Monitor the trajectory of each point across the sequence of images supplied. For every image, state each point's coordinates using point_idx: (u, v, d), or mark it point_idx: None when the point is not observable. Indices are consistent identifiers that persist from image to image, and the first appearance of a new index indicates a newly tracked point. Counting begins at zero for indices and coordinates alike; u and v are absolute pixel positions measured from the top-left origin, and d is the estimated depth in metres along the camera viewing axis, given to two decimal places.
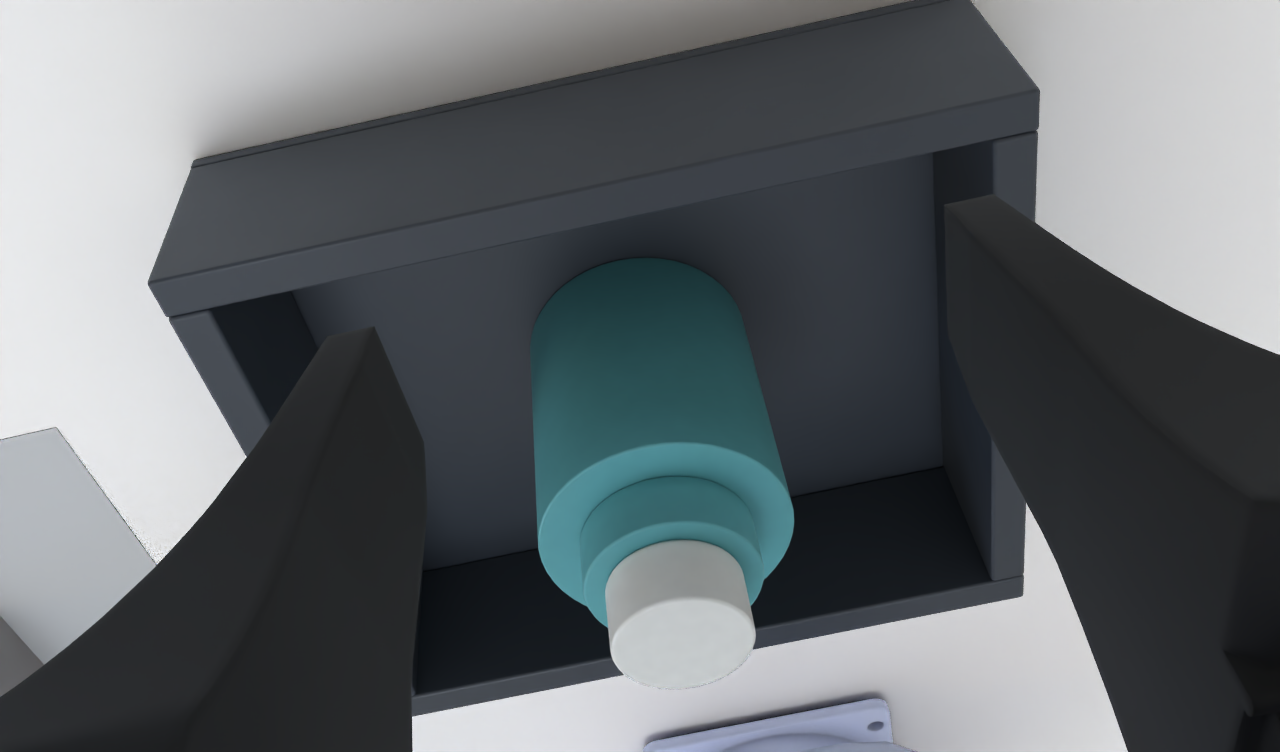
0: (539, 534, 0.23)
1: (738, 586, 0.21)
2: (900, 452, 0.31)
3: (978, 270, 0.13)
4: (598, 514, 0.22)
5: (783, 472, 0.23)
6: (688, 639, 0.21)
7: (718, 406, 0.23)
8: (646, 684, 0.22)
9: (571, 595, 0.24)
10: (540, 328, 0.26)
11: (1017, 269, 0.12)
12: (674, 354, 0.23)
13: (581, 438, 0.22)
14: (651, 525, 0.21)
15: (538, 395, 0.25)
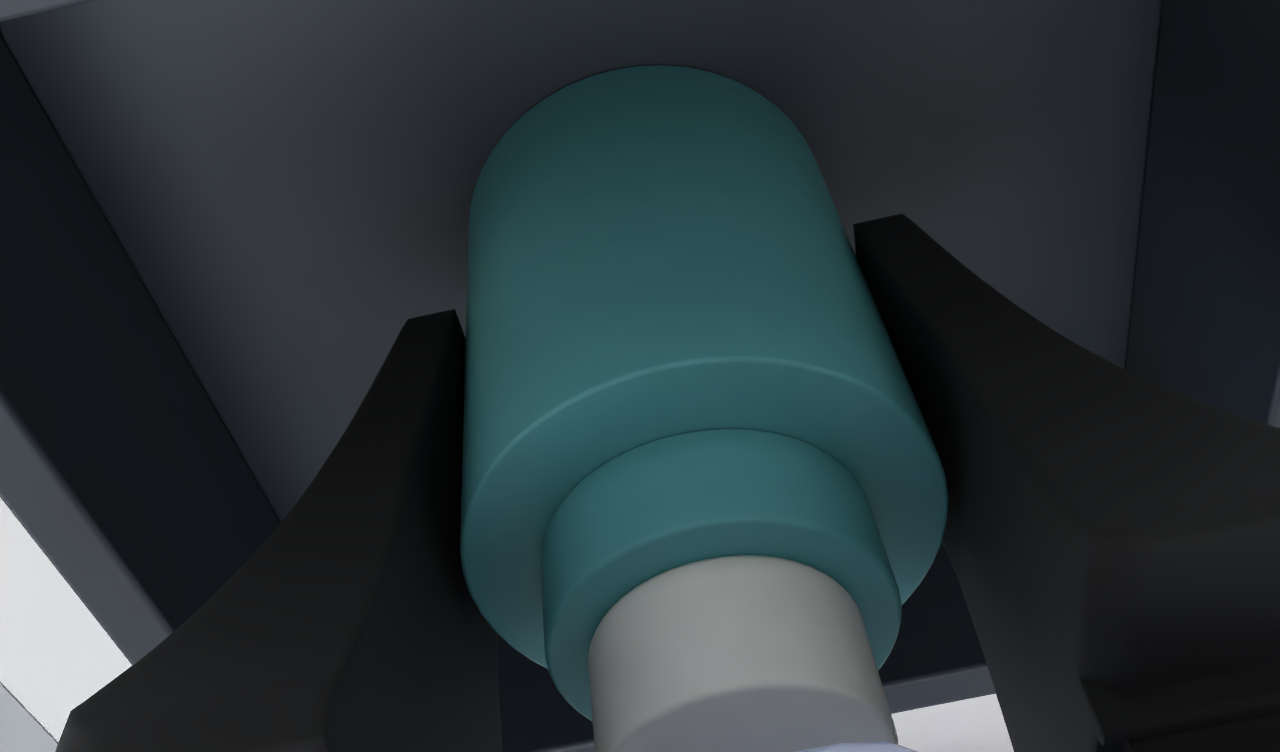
0: (462, 543, 0.12)
1: (862, 652, 0.10)
2: None
3: (881, 289, 0.13)
4: (575, 504, 0.11)
5: None
6: None
7: (808, 295, 0.12)
8: None
9: (530, 654, 0.13)
10: (482, 189, 0.15)
11: (912, 291, 0.12)
12: (720, 205, 0.13)
13: (543, 356, 0.11)
14: (682, 526, 0.10)
15: (473, 294, 0.14)
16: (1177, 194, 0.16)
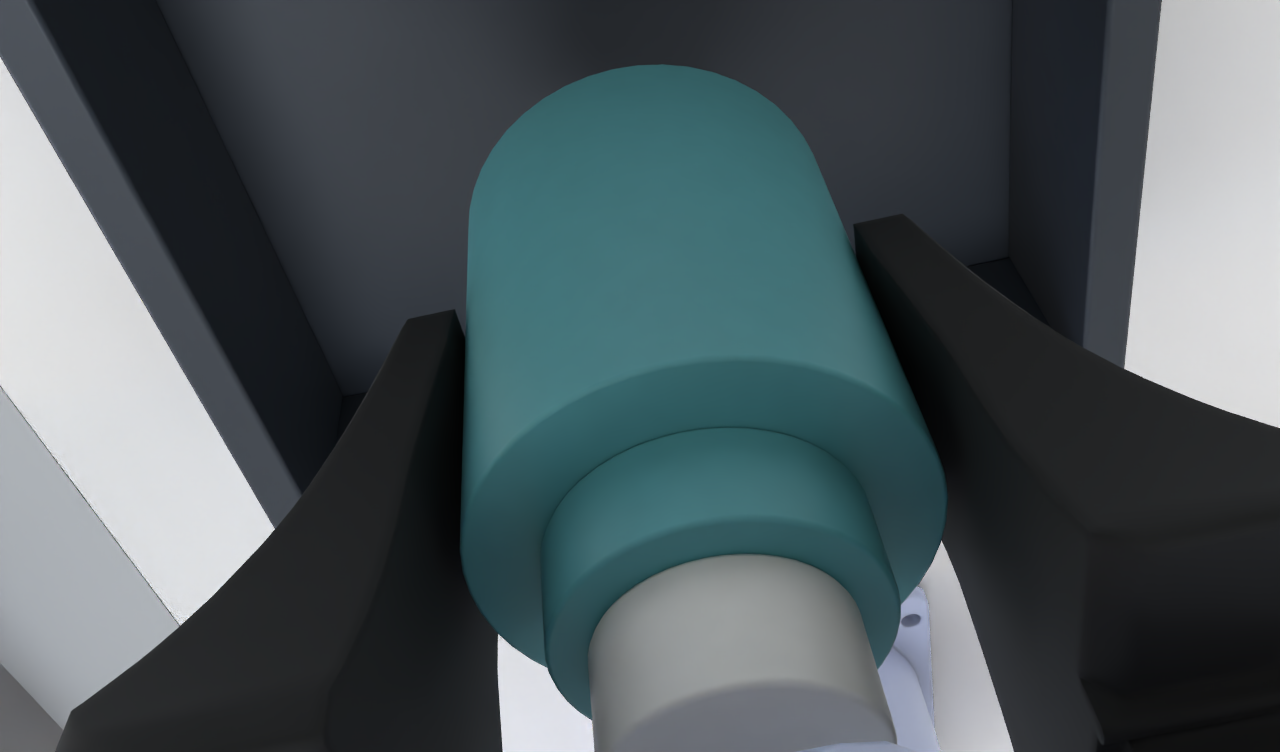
0: (462, 542, 0.12)
1: (862, 650, 0.10)
2: (954, 235, 0.24)
3: (881, 289, 0.13)
4: (574, 502, 0.11)
5: None
6: None
7: (808, 294, 0.12)
8: None
9: (530, 653, 0.13)
10: (482, 188, 0.15)
11: (912, 291, 0.12)
12: (719, 204, 0.13)
13: (542, 355, 0.11)
14: (682, 524, 0.10)
15: (473, 293, 0.14)
16: (1031, 29, 0.20)
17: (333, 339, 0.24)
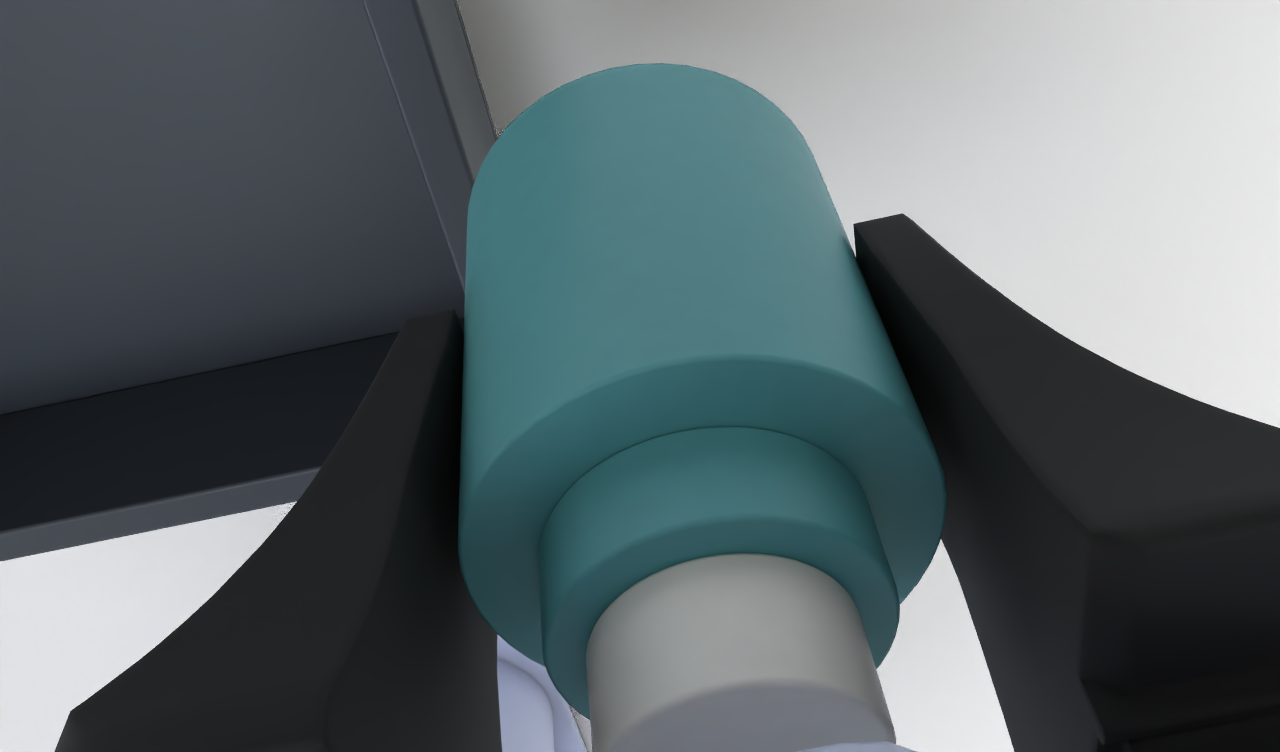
0: (460, 541, 0.12)
1: (861, 649, 0.10)
2: (451, 289, 0.26)
3: (880, 289, 0.13)
4: (572, 502, 0.11)
5: None
6: None
7: (806, 293, 0.12)
8: None
9: (528, 653, 0.13)
10: (480, 187, 0.15)
11: (913, 291, 0.12)
12: (717, 204, 0.13)
13: (540, 354, 0.11)
14: (680, 523, 0.10)
15: (471, 293, 0.14)
16: None
17: None
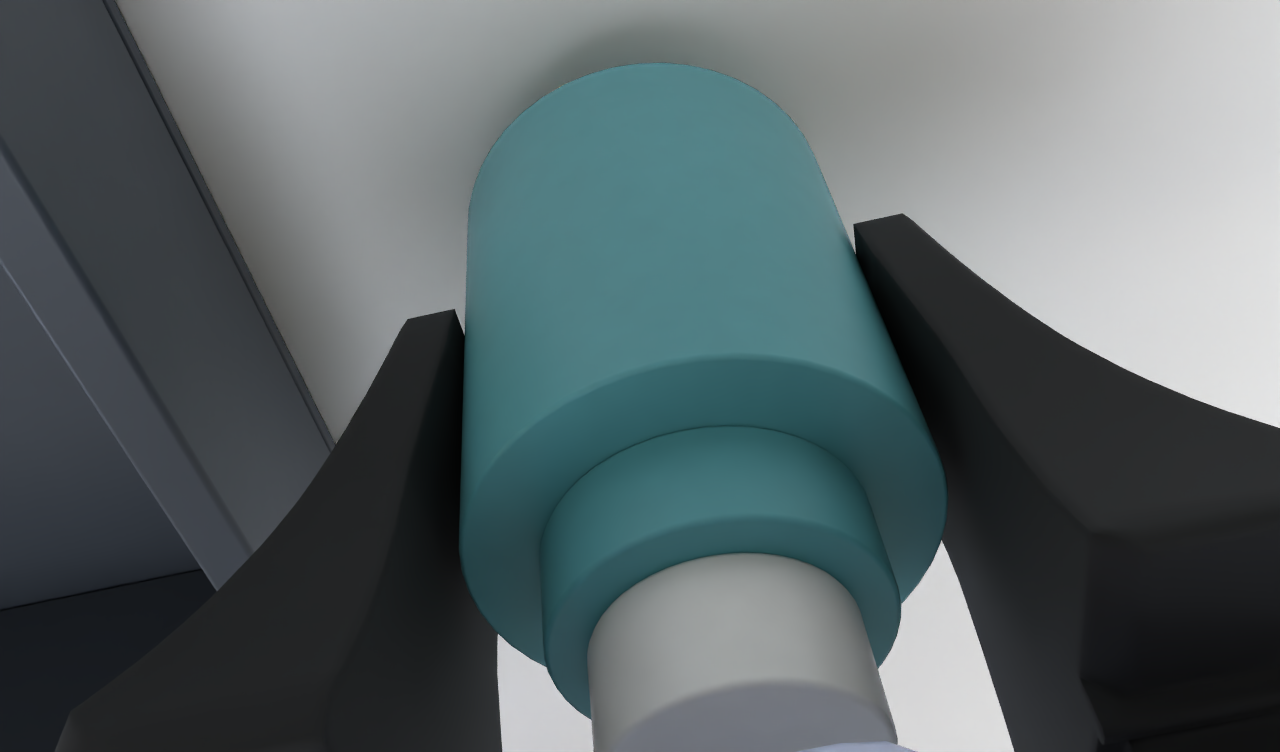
0: (461, 541, 0.12)
1: (862, 649, 0.10)
2: None
3: (881, 290, 0.13)
4: (574, 501, 0.11)
5: None
6: None
7: (809, 293, 0.12)
8: None
9: (529, 653, 0.13)
10: (481, 186, 0.15)
11: (913, 291, 0.12)
12: (719, 203, 0.13)
13: (542, 354, 0.11)
14: (681, 523, 0.10)
15: (472, 292, 0.14)
16: None
17: None
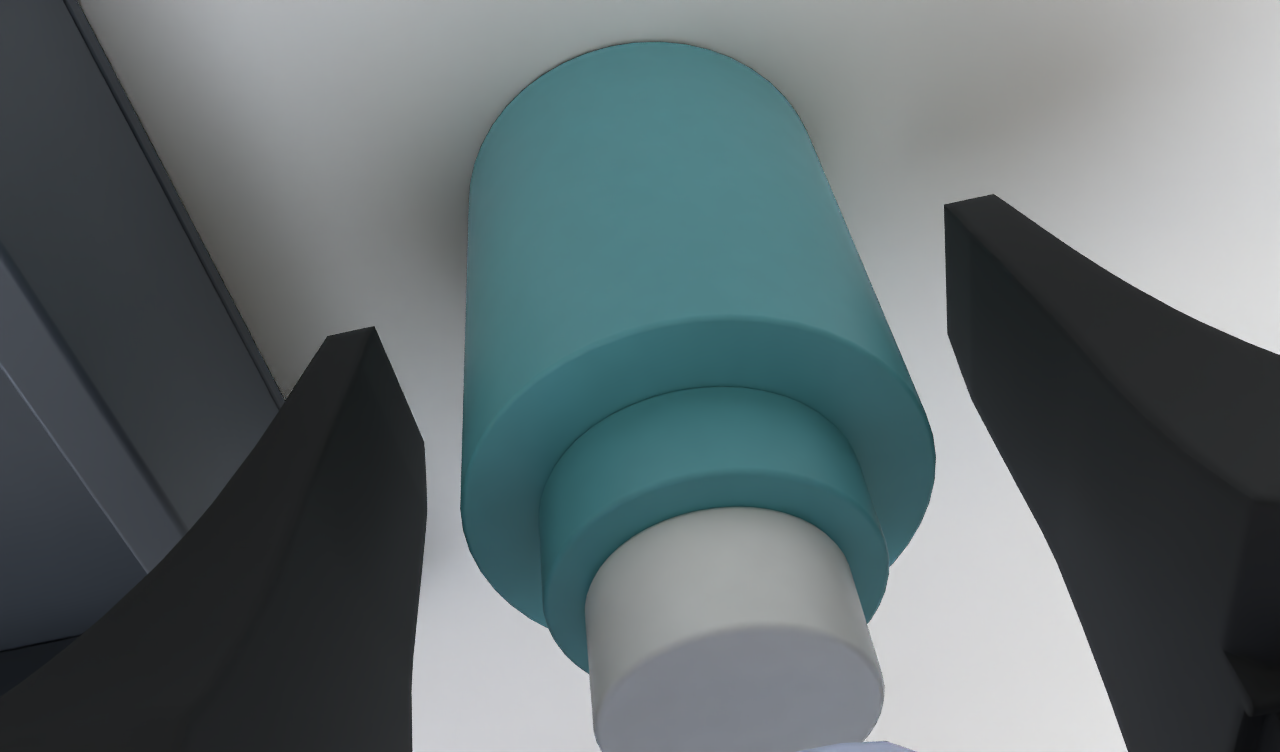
0: (463, 500, 0.12)
1: (850, 600, 0.11)
2: None
3: (978, 269, 0.13)
4: (572, 460, 0.12)
5: None
6: (751, 707, 0.10)
7: (799, 259, 0.12)
8: None
9: (528, 613, 0.13)
10: (482, 163, 0.16)
11: (1017, 269, 0.12)
12: (713, 175, 0.13)
13: (541, 317, 0.12)
14: (676, 477, 0.11)
15: (473, 264, 0.14)
16: None
17: None
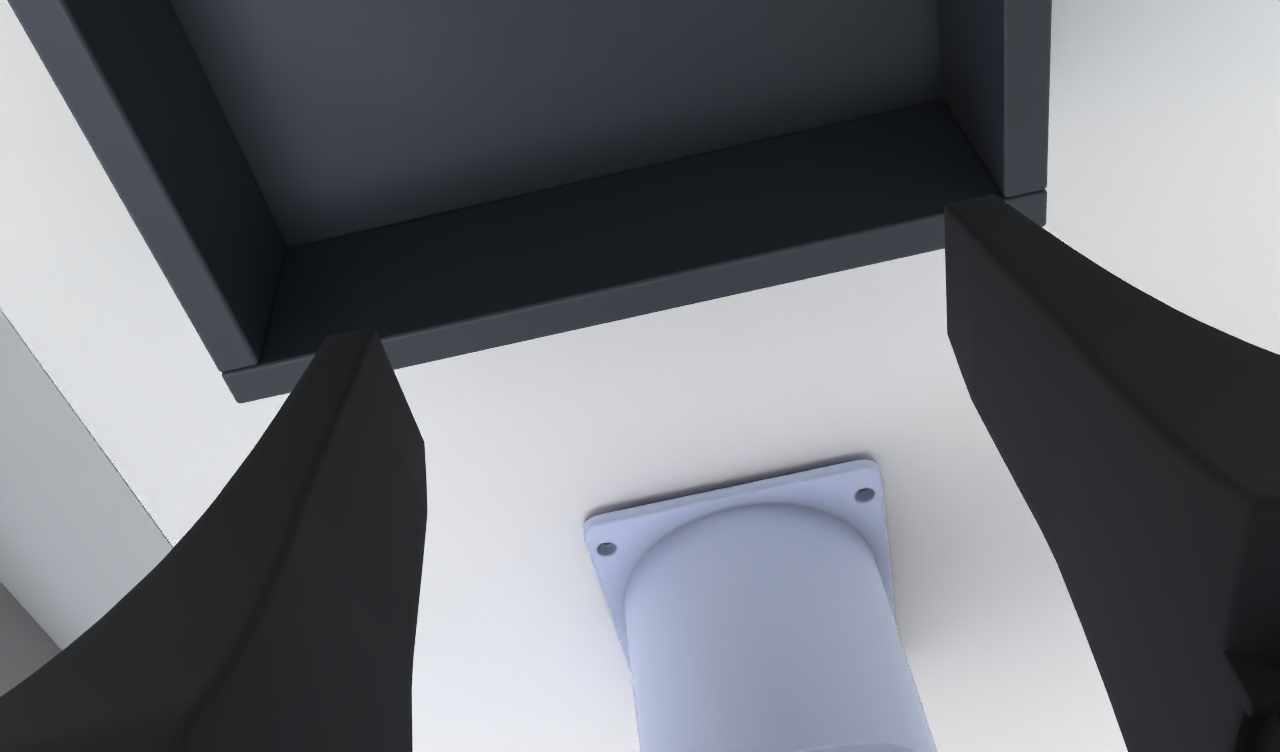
0: None
1: None
2: (886, 75, 0.24)
3: (978, 269, 0.13)
4: None
5: None
6: None
7: None
8: None
9: None
10: None
11: (1017, 269, 0.12)
12: None
13: None
14: None
15: None
16: None
17: (273, 185, 0.24)
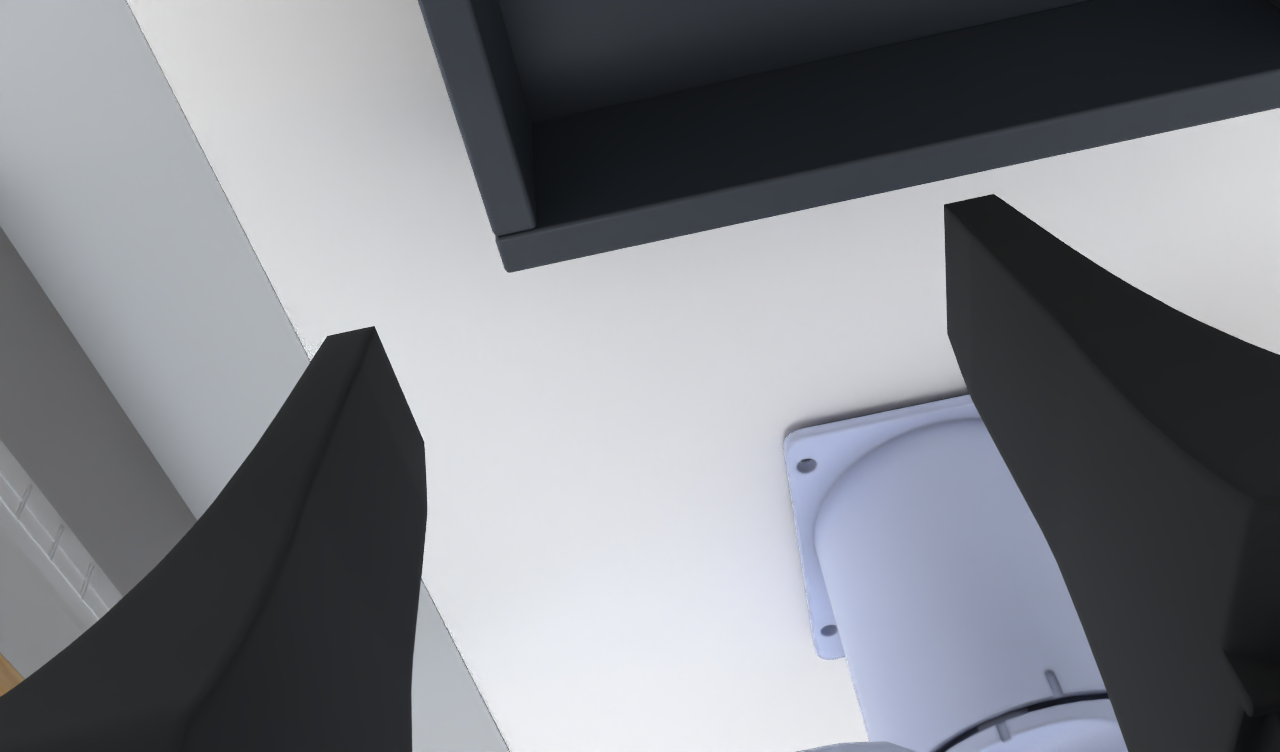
0: None
1: None
2: None
3: (977, 269, 0.13)
4: None
5: None
6: None
7: None
8: None
9: None
10: None
11: (1017, 269, 0.12)
12: None
13: None
14: None
15: None
16: None
17: (528, 52, 0.23)
